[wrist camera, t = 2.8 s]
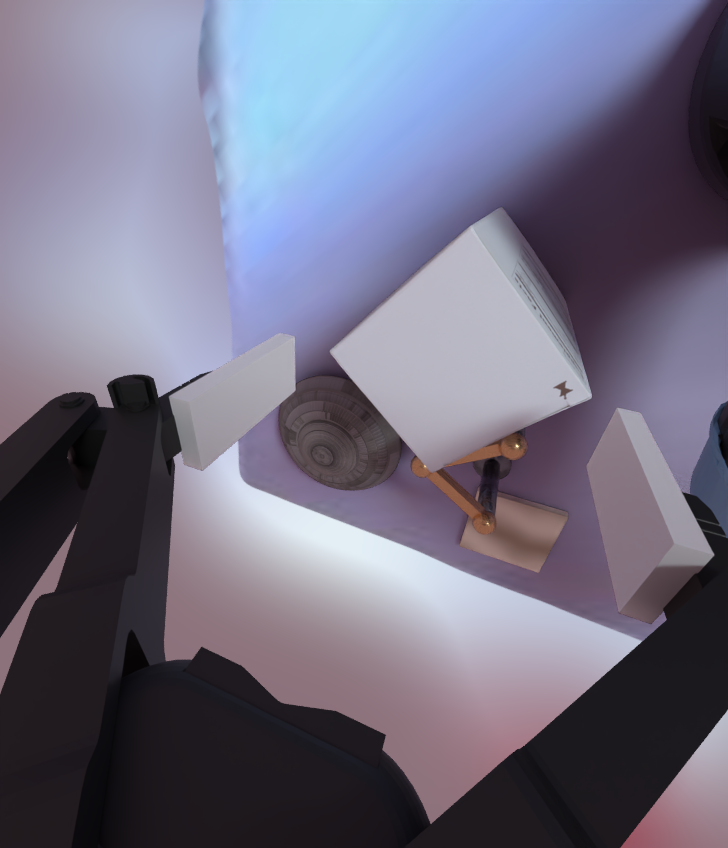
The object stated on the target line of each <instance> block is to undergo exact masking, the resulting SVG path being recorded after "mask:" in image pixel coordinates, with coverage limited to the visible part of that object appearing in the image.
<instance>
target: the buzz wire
mask: <svg viewBox="0 0 728 848" xmlns="http://www.w3.org/2000/svg"><path fill="white" fill-rule="evenodd" d="M527 449H528V444H527V441H526V439H525V428H523V429H520V430H518V431H516V432H514V433H512V434H510V435H508V436H506V437H503V438H501V439H499V440H497V441H495V442H493V443H491V444H489V445H487V446H485V447H483V448H481V449H479V450H477V451H475V452H473V453H471V454H469V455H467V456H465V457H463V458H461V459H459V460H457V461H455V462H453V463H451V464H449V465H447V466H452V465H457V464H462V463H467V462H472V461H474V468H475V470H476V472H477V473H478V474H479V475H480V476H482V478H481V484H480V490H479V496H478V501H477V500H476V499H474V498H473V497H472V496H471V495H470V494H469V493H468V492H467V491H466V490H465V489H464V488H463V487H462V486H461V485H459V484H458V483H457V482H456V481H455V480H454V479H453V478H452V477H451V476H450V475H449V474H448V473H447V472H446V471H445V470H443V469H442V468H441V469H440V470H438V471H436V472H434V473H431V472H430V471H429V470H428V469H427V467H426V466H425V465H424V464H423V463H422V462H421V460H420V459H419V458H418V457H417V456H415V457H414V458H413V459H412V461H411V470H412V472H413V473H414V474H415V475H416V476H418V477H420V478H426V477H428V478H429V479H430V480H431V481H432V482H433V483H434V484H435V485H436V486H437V487H438V488H439V489H440V490H442V491H443V492H444V493H445V494H446V495H447V496H448V497H449V498H450V499H451V500H452V501H453V502H455V503H456V504H457V505H458V506H459V507H460V508H461V509H462V510H463V511H464V512H465V513H466V514H467V515H469V516H470V517H471V518H472V525H473V528H474V529H475V531H476V532H478V533H479V534H482V535H489V534H491V533H493V532H494V531H495V529H496V527H497V520H496V518H495V513H496V503H497V493H498V484H499V479H502V478H504V477H505V476H507V475H508V473H509V472H510V469H511V460H518V459H520V458H522V457H523V456H524V455H525V454H526V452H527ZM447 466H445V467H447Z"/></svg>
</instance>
